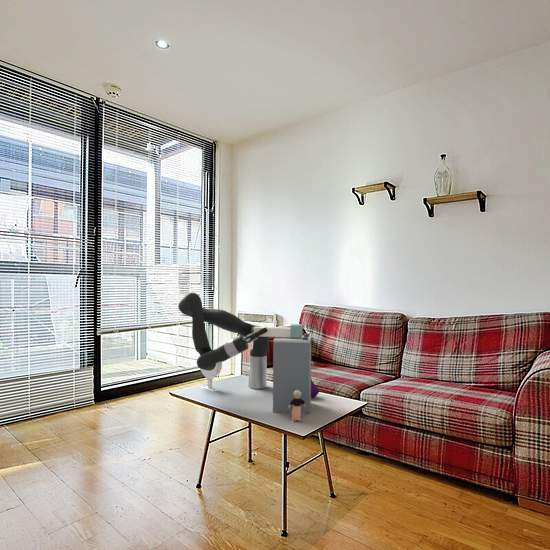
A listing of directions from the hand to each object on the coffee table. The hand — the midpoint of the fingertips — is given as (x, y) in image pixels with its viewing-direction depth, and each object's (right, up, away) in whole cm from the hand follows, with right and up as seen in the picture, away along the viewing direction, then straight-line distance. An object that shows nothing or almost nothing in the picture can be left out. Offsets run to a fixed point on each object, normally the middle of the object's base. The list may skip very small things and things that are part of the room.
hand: (267, 328), depth 189 cm
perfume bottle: (+21, -36, +14) cm, 44 cm away
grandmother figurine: (+13, -36, -20) cm, 43 cm away
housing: (+12, -36, -2) cm, 38 cm away
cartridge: (+4, -3, -1) cm, 5 cm away
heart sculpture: (-31, -36, +29) cm, 56 cm away
